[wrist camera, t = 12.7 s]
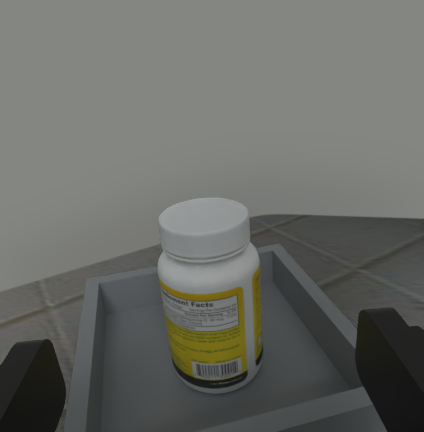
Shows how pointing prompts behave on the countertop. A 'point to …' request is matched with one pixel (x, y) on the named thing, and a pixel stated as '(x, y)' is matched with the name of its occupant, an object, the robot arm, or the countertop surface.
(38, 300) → the countertop surface
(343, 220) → the countertop surface
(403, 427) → the robot arm
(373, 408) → the bin
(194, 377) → the supplement bottle
